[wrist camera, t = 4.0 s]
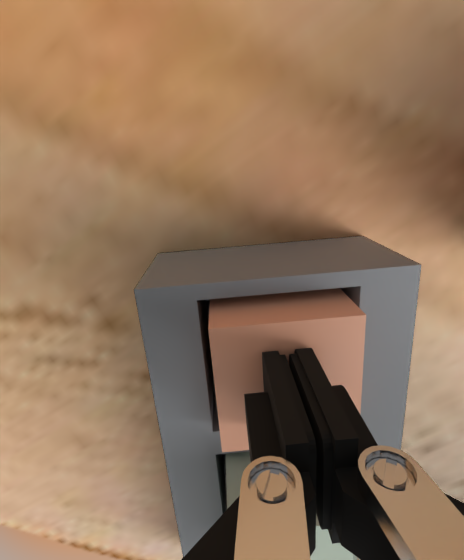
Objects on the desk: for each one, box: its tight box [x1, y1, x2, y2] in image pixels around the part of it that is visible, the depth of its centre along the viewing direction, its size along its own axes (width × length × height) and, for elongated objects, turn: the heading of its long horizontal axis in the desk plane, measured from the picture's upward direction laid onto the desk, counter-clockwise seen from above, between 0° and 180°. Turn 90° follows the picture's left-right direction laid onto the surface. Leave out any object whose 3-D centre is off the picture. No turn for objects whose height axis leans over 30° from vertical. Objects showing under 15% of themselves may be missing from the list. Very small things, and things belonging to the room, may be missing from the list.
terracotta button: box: [208, 288, 366, 452], centre depth 14 cm, size 5×5×5 cm
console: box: [134, 236, 421, 557], centre depth 17 cm, size 10×21×5 cm, turn 4°
